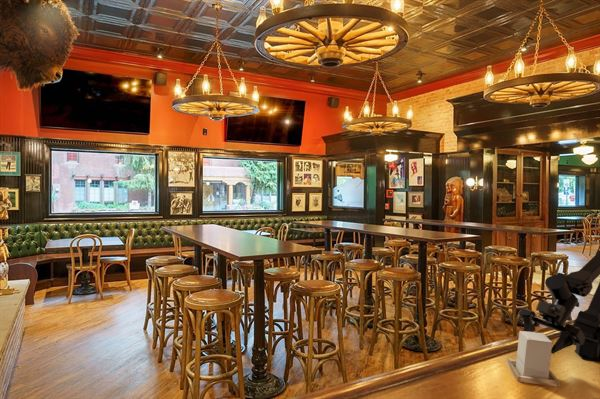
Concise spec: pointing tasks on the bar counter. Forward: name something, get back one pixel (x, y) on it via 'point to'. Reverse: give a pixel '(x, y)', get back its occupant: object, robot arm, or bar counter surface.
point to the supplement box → (533, 355)
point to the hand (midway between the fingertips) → (536, 346)
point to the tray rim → (540, 381)
